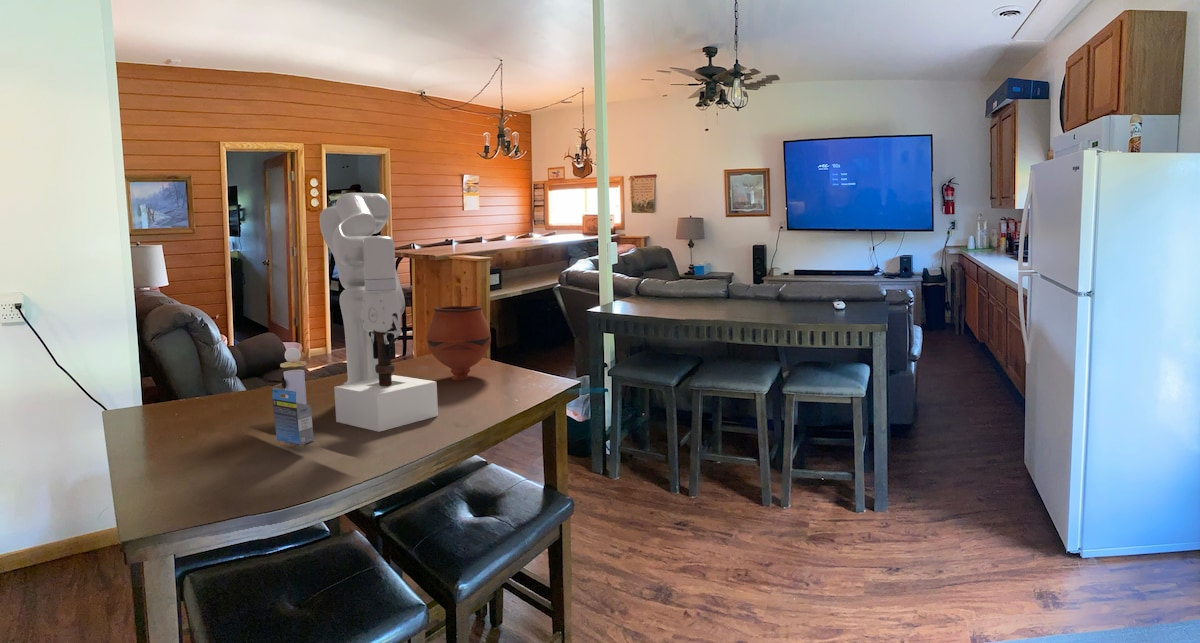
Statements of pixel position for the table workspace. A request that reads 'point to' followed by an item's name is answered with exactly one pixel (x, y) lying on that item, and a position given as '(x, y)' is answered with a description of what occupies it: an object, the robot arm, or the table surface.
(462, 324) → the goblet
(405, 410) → the hitch block
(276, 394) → the label tape box
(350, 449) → the table surface
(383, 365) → the bolt
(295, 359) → the perfume bottle
